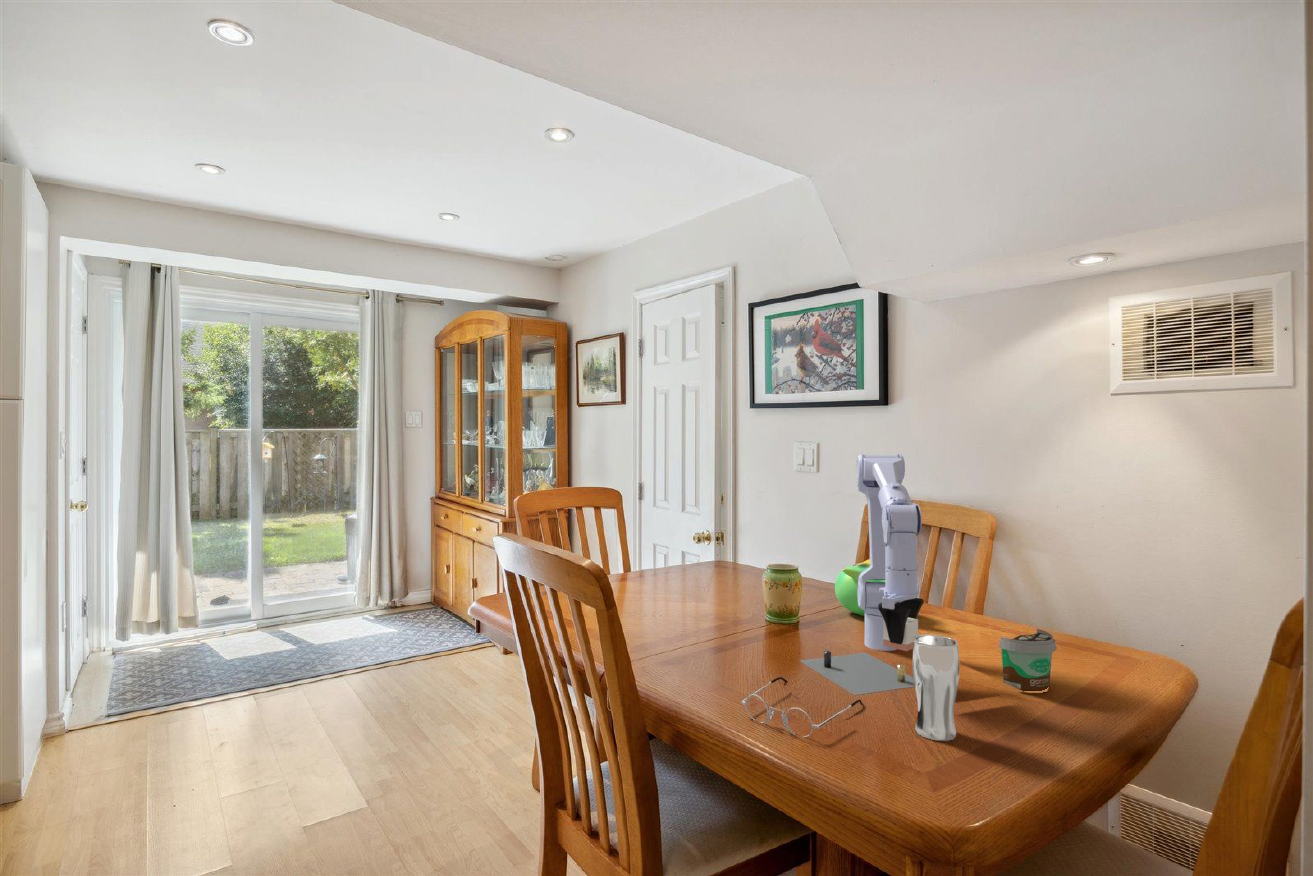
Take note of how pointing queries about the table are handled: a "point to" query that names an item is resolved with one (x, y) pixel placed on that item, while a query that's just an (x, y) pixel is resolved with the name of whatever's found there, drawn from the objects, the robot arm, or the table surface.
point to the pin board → (860, 673)
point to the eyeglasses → (784, 717)
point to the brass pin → (901, 673)
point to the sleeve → (909, 635)
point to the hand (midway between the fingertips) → (901, 639)
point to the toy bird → (851, 586)
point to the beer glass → (935, 685)
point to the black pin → (827, 659)
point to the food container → (1028, 660)
